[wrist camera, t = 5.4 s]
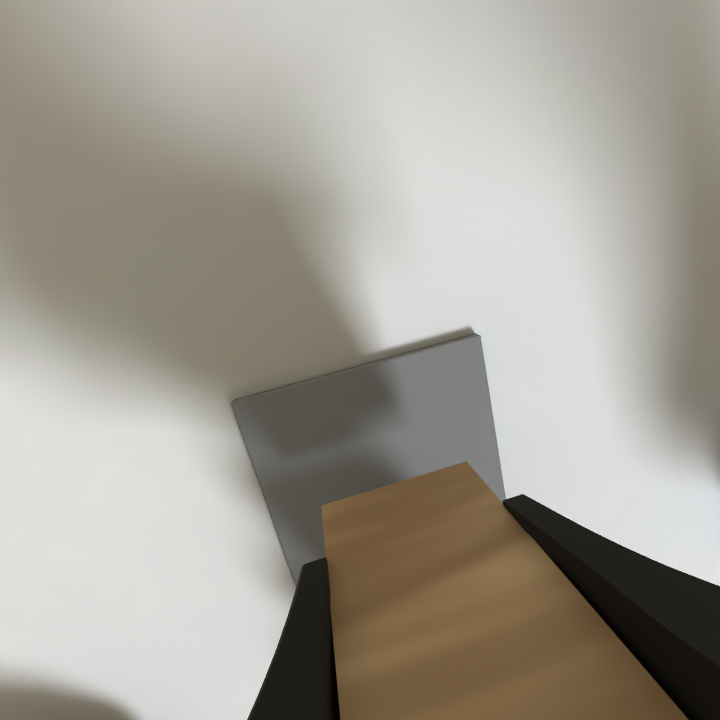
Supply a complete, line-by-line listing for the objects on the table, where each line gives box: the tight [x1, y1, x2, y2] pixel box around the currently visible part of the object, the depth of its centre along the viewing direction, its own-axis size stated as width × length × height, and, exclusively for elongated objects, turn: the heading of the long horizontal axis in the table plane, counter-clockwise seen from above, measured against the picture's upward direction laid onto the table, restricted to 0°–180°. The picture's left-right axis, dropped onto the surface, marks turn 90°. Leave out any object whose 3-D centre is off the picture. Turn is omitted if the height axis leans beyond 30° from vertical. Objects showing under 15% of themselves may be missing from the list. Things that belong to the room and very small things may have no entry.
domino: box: [321, 461, 689, 720], centre depth 9 cm, size 2×5×8 cm, turn 103°
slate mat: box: [231, 334, 506, 587], centre depth 19 cm, size 10×28×1 cm, turn 13°
